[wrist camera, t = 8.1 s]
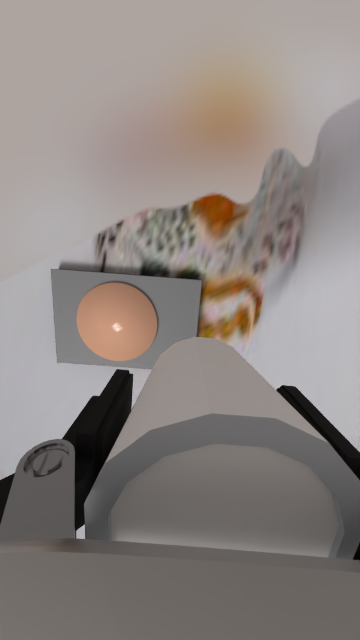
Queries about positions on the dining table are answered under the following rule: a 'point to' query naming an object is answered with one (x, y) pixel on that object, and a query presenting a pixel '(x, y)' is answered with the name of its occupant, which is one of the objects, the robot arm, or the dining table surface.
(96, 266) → the dining table surface
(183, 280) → the board
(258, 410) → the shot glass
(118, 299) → the coaster
